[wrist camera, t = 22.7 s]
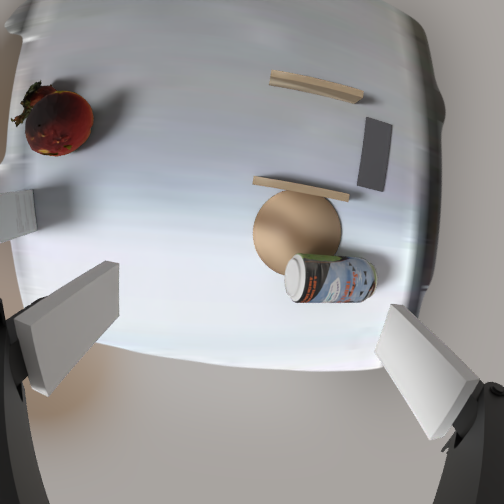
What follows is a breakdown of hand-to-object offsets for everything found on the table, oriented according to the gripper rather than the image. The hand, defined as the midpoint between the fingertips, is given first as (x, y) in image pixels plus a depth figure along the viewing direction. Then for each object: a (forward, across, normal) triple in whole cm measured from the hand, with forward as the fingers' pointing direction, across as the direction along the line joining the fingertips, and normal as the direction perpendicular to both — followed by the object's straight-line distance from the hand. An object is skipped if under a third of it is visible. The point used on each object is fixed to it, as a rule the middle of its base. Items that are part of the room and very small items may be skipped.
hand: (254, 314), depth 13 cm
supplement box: (+27, -40, -3) cm, 48 cm away
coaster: (+27, +6, 0) cm, 27 cm away
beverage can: (+22, +5, -4) cm, 23 cm away
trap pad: (+27, +15, +13) cm, 33 cm away
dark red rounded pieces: (+28, -36, +19) cm, 50 cm away
